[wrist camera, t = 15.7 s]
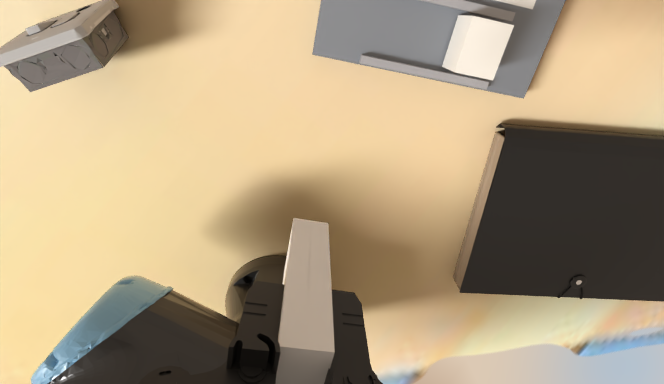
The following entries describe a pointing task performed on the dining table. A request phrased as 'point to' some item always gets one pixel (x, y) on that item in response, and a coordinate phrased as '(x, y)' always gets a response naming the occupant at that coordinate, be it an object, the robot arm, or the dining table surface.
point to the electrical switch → (64, 46)
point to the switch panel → (434, 37)
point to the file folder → (567, 216)
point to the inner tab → (477, 46)
